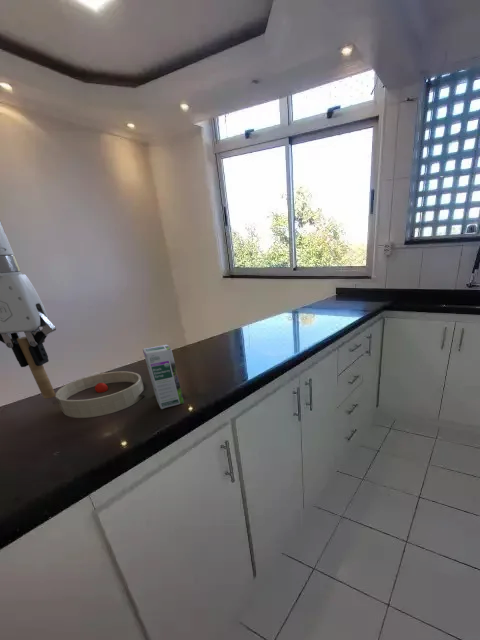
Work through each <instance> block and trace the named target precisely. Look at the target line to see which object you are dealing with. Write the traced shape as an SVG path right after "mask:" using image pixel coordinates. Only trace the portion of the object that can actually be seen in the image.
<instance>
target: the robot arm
mask: <svg viewBox="0 0 480 640" xmlns="http://www.w3.org/2000/svg"><path fill="white" fill-rule="evenodd" d="M1 221H2V220H0V342H1V343H3V344H5V346H6V347H7V348H8V349H11V350H12V352H13V354H14V356H15V359H16V361H17V362H18V364H19V366H20V367H21V368H26V367H29V365H28V363H27V361H26V359H25V357H24V354H23V352H22V350H21V348H20V346H19V343H18V341H17V338H20V337H21V335H20V333H23V334H24V335H25V337H27V340H28V342H29V344H30V345H31V346H30V347H28V349H29V351H30V353H31V356H32V358H33V360H34V362H35V365H37V366H41V365H43V366H44V365H45V364H47V363H49V362H50V361H49V355H48V353H47V351H46V349H45V346H44V343H45V340H46V338H47V337H48V336H49V335H50V334H52V333H54V332H55V331H56V330H57V328H56V327H55V325H54V324H53V323H52V321H50V319H49V315H48V313H47V310H46V308H45V306H44V303H43V301H42V299H41V297H40V295H39V293H38V291H37V290H36V288H35V286H34V284H33V283H32V281H31V280H30V278H29V277H28V276H27V274H26V273H22V269H21V268H20V264H19V262H18V260H17V258H16V255H15V253H14V250H13V248H12V246H11V243H10V240H9V238H8V235H7V234H6V232H5V229H4V227H3V224H2V222H1Z"/></svg>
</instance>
